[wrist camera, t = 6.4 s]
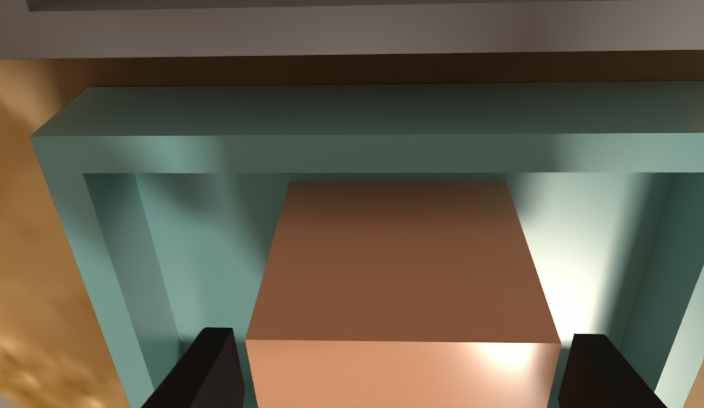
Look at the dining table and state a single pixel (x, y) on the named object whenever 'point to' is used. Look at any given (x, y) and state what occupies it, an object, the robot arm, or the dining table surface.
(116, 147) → the teal bin
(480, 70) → the dining table surface
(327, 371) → the terracotta block
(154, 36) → the grey bin
